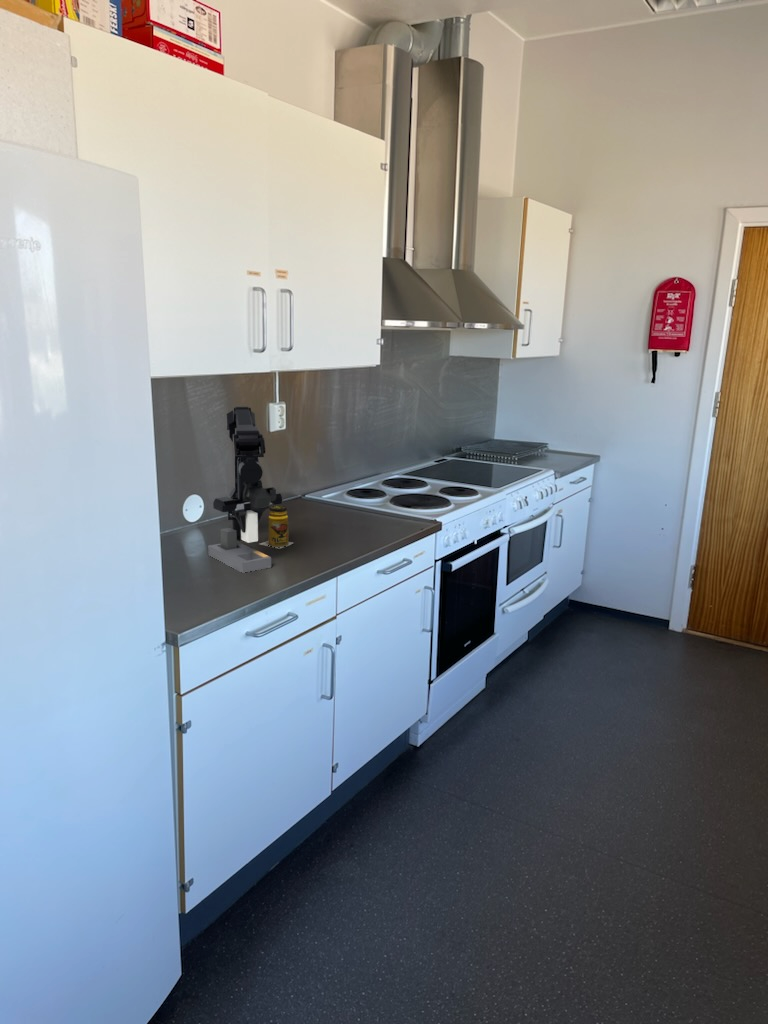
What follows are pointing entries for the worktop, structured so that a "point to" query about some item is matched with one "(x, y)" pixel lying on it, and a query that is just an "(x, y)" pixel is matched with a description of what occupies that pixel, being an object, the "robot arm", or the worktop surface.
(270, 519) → the condiment
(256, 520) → the plug
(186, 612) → the worktop surface
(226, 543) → the dark gray block
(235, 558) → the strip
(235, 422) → the robot arm
